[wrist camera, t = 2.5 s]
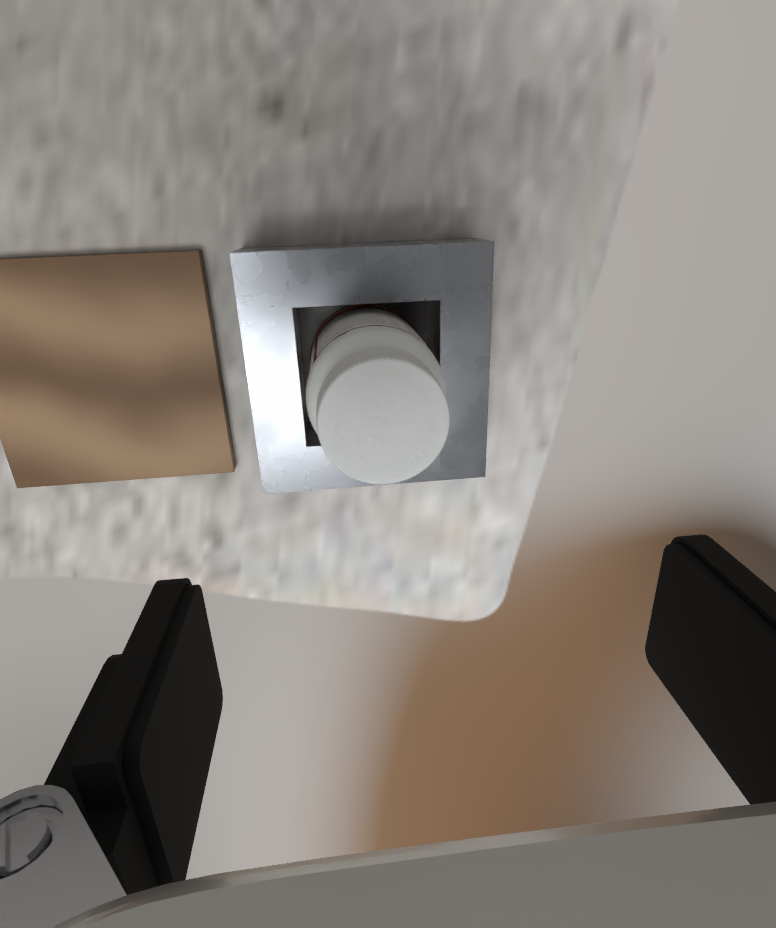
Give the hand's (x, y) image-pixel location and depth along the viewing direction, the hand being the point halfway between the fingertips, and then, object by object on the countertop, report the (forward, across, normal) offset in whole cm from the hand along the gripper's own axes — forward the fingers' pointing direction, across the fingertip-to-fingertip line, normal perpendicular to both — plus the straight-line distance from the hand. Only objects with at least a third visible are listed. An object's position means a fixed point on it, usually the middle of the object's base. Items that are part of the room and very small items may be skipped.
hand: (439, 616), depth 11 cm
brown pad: (+22, +14, 0) cm, 26 cm away
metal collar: (+22, 0, 0) cm, 22 cm away
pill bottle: (+22, 0, 0) cm, 23 cm away
